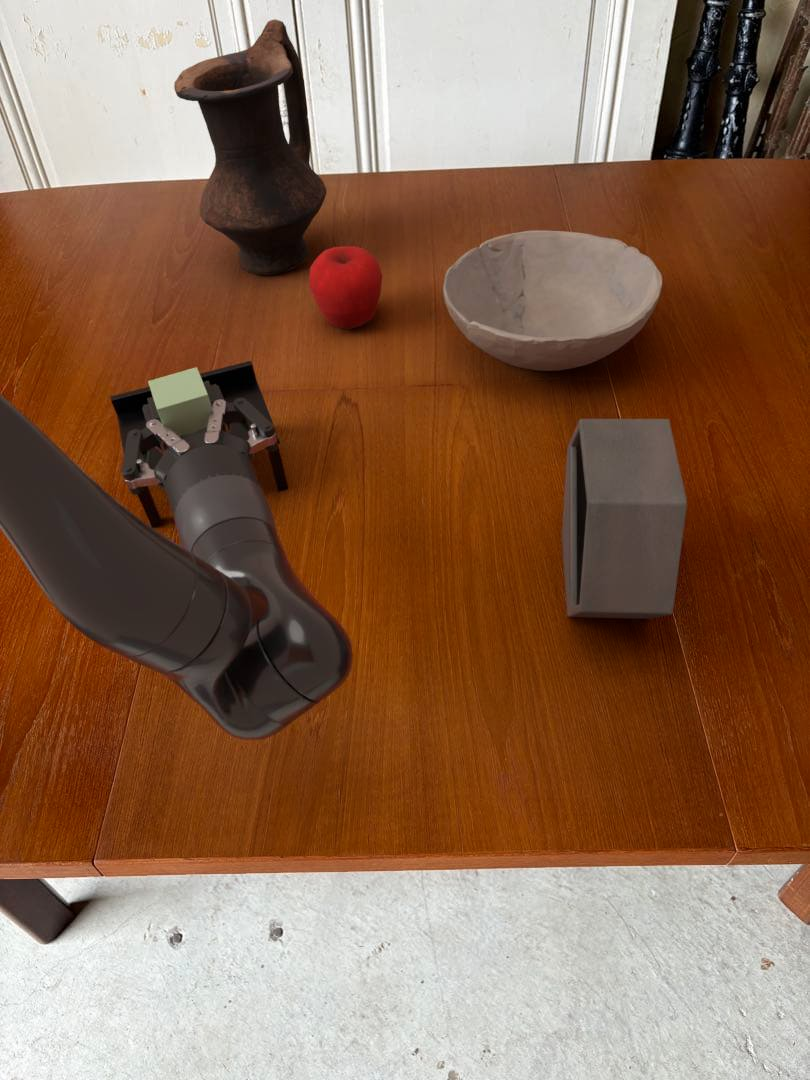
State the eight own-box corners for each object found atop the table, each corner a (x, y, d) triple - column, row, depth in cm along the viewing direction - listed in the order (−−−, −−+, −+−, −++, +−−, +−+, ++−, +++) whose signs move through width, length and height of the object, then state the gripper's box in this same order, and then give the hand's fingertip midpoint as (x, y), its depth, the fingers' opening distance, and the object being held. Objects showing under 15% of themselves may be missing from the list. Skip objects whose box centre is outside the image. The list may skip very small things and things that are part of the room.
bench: (150, 530, 89) (122, 465, 82) (137, 461, 97) (110, 396, 90) (290, 489, 92) (275, 423, 85) (267, 425, 100) (251, 360, 93)
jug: (285, 304, 117) (242, 79, 95) (190, 274, 125) (128, 58, 102) (365, 237, 129) (344, 22, 106) (274, 213, 136) (235, 7, 113)
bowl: (410, 327, 112) (405, 261, 104) (570, 271, 119) (577, 205, 111) (513, 437, 96) (516, 367, 88) (691, 364, 103) (708, 294, 95)
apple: (337, 351, 109) (327, 278, 101) (303, 319, 115) (291, 247, 107) (399, 324, 112) (393, 252, 104) (363, 294, 118) (355, 223, 110)
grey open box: (561, 459, 86) (587, 399, 66) (636, 459, 85) (685, 398, 65) (561, 619, 84) (588, 609, 63) (637, 621, 83) (689, 611, 63)
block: (184, 483, 78) (156, 409, 71) (175, 454, 81) (147, 380, 74) (231, 468, 79) (207, 394, 72) (220, 440, 82) (196, 366, 75)
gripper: (297, 452, 65) (244, 342, 76) (119, 509, 62) (90, 386, 73) (312, 517, 70) (260, 405, 81) (149, 572, 68) (118, 449, 78)
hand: (180, 397), depth 77 cm, fingers closed on block, 4 cm apart
